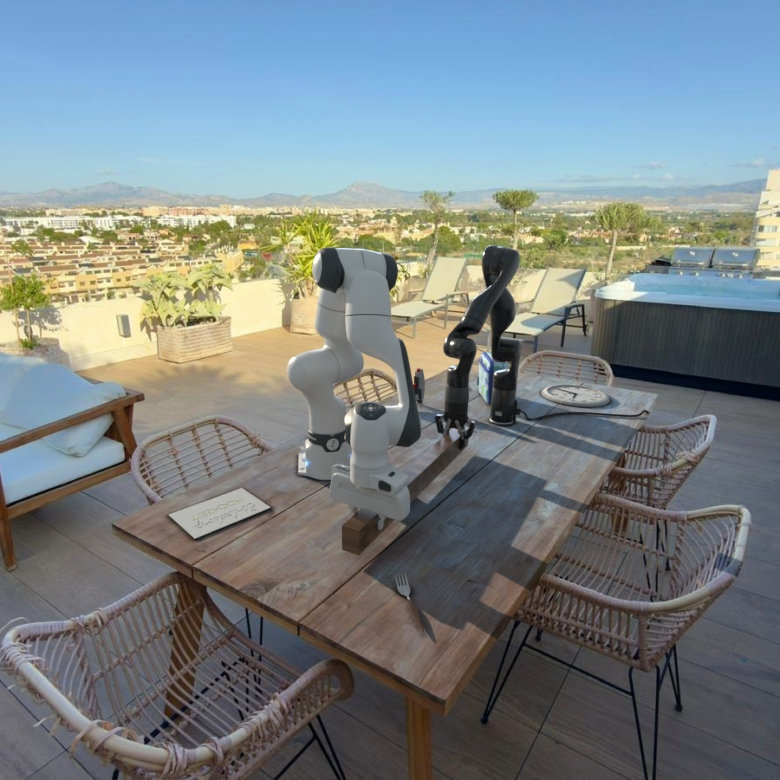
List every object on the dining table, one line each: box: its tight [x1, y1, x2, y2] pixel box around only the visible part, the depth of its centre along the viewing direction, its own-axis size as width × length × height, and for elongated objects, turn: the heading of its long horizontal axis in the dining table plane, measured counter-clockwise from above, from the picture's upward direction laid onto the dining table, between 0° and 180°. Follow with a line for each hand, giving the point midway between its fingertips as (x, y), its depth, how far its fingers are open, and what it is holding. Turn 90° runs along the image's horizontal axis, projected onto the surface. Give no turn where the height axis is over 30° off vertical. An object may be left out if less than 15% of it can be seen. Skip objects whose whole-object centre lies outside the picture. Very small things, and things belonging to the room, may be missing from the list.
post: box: [341, 426, 469, 556], centre depth 148 cm, size 72×5×6 cm, turn 152°
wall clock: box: [541, 384, 611, 408], centre depth 239 cm, size 30×2×30 cm
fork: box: [394, 572, 425, 632], centre depth 105 cm, size 3×16×2 cm, turn 15°
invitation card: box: [168, 487, 271, 540], centre depth 138 cm, size 21×1×15 cm
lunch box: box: [476, 351, 510, 406], centre depth 230 cm, size 26×11×21 cm, turn 179°
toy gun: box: [413, 367, 426, 405], centre depth 218 cm, size 2×16×15 cm
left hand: (368, 524), depth 125 cm, fingers closed on post, 4 cm apart
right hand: (453, 447), depth 172 cm, fingers closed on post, 4 cm apart
